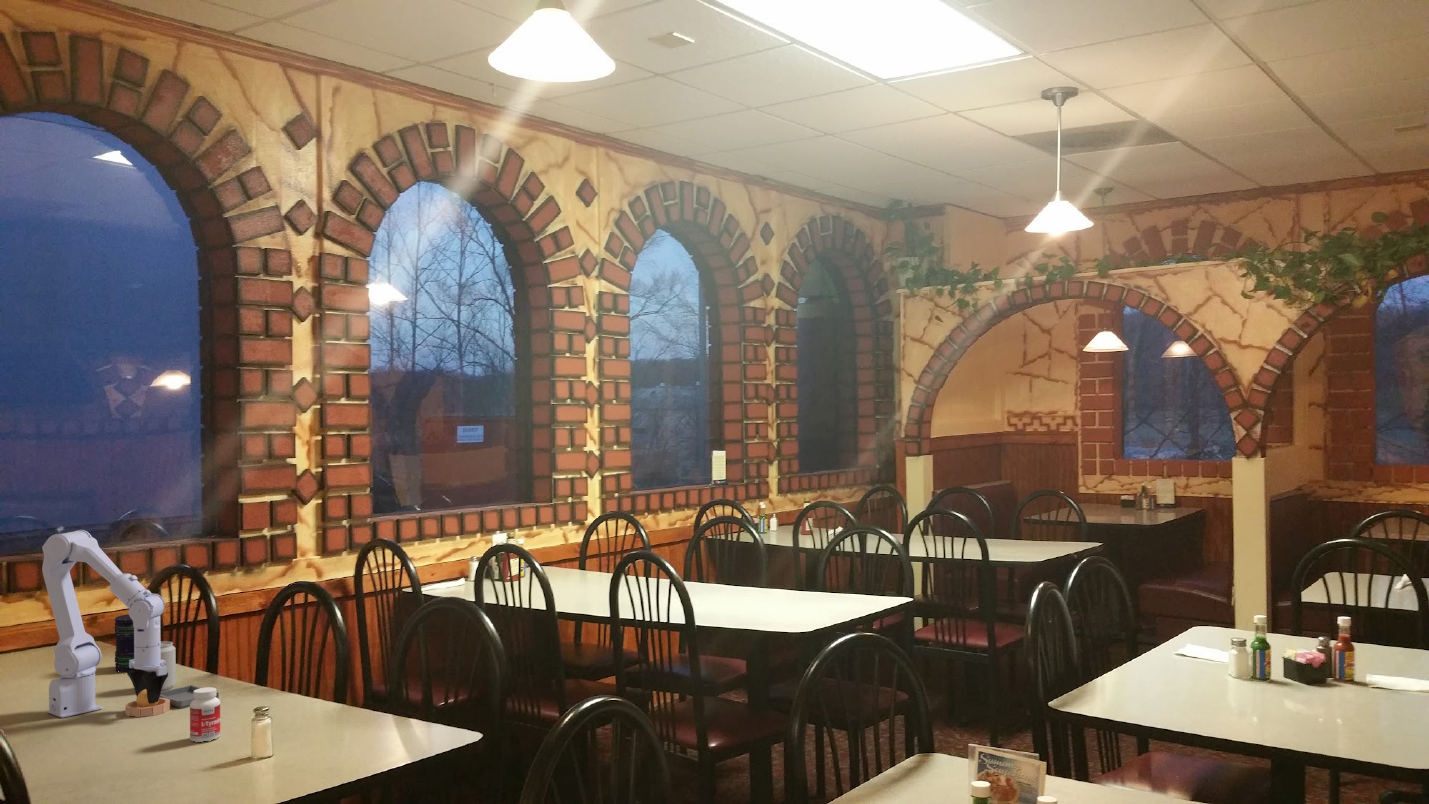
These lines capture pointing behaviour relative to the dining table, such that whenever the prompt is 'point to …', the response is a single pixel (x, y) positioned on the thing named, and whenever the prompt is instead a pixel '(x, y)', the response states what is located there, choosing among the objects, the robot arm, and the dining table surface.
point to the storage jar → (124, 643)
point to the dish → (147, 708)
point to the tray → (181, 696)
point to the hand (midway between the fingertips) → (147, 700)
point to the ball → (144, 700)
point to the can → (169, 664)
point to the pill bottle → (204, 715)
